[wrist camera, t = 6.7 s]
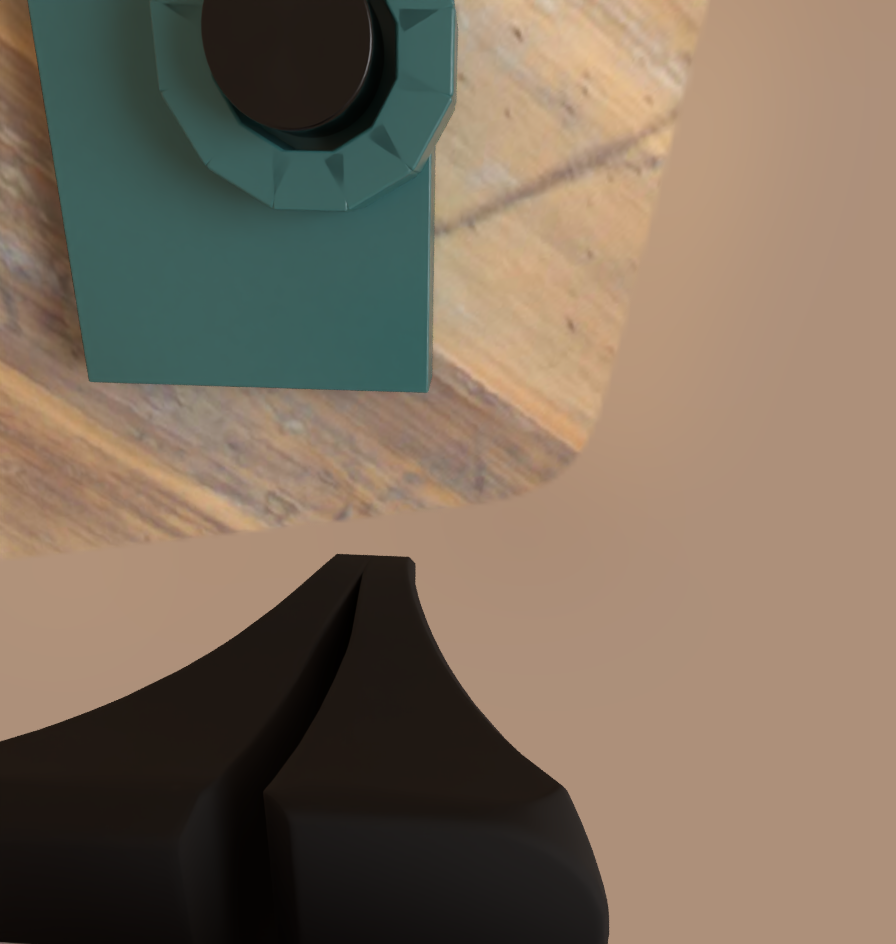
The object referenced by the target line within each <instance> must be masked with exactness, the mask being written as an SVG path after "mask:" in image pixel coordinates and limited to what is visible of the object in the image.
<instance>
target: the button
mask: <svg viewBox="0 0 896 944" xmlns="http://www.w3.org/2000/svg"><path fill="white" fill-rule="evenodd" d="M201 36H202V43H203V49H204V52H205V56H206V60H207V63H208V65H209V68H210V71H211V73H212V75H213V77H214V79H215V81H216V83H217V85H218V86H219V88H220V89H221V91H222V92H223V94H224V95H225V96H226V97H227V98H228V100H229V101H230V102H231V103H232V104H233V105H234V106H235V107H236V108H237V109H238V110H239V111H240V112H242V113H243V114H244V115H246V116H247V117H248V118H250V119H251V120H253V121H255V122H257V123H259V124H261V125H263V126H266V127H268V128H271V129H274V130H277V131H280V132H283V133H287V134H290V135H293V136H298V137H304V138H320V137H325V136H330V135H333V134H335V133H338V132H340V131H342V130H344V129H346V128H348V127H349V126H350V125H352V124H353V123H354V122H356V121H357V120H358V119H359V118H360V117H361V116H362V115H363V114H364V112H365V111H366V110H367V108H368V107H369V106H370V104H371V102H372V101H373V99H374V97H375V95H376V92H377V90H378V88H379V85H380V81H381V78H382V73H383V67H384V41H383V36H382V30H381V27H380V24H379V20H378V17H377V15H376V13H375V11H374V8H373V6H372V5H371V3H370V1H369V0H204V1H203V6H202V15H201Z"/></svg>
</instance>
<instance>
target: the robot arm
mask: <svg viewBox="0 0 896 944" xmlns="http://www.w3.org/2000/svg"><path fill="white" fill-rule="evenodd" d="M608 937H609V912H608V904H607V898H606V894H605V890H604V885H603V882H602V879H601V875H600V872H599V869H598V866H597V863H596V860H595V856H594V854H593V850H592V848H591V845H590V843H589V840H588V837H587V835H586V832H585V830H584V827H583V825H582V822H581V820H580V818H579V816H578V813H577V811H576V809H575V807H574V804H573V802H572V800H571V798H570V796H569V794H568V792H567V790H566V789H565V788H564V787H563V786H562V785H561V784H559V783H558V782H557V781H556V780H554V779H553V778H551V777H550V776H549V775H548V774H546V773H545V772H544V771H543V770H541V769H540V768H539V767H537V766H536V765H535V764H533V763H532V762H531V761H530V760H528V759H527V758H525V757H524V756H523V755H522V754H521V753H520V752H518V751H517V750H516V749H515V748H514V747H513V746H512V745H511V744H510V743H509V742H508V741H507V740H506V739H505V738H504V737H503V736H502V735H501V734H500V733H499V731H498V730H497V729H496V728H495V727H494V726H493V725H492V723H491V722H490V721H489V720H488V719H487V718H486V717H485V715H484V714H483V713H482V712H481V711H480V710H479V709H478V707H477V706H476V705H475V704H474V702H473V701H472V700H471V698H470V697H469V696H468V694H467V693H466V691H465V690H464V689H463V687H462V686H461V684H460V683H459V681H458V680H457V678H456V677H455V675H454V674H453V672H452V670H451V669H450V667H449V665H448V664H447V662H446V660H445V659H444V657H443V655H442V653H441V651H440V649H439V647H438V645H437V643H436V641H435V639H434V637H433V635H432V632H431V630H430V628H429V625H428V623H427V620H426V618H425V615H424V612H423V610H422V607H421V604H420V601H419V598H418V593H417V589H416V585H415V563H414V562H413V561H412V560H411V558H409V557H397V556H374V555H349V554H336V555H335V556H334V557H333V558H332V559H330V560H329V561H328V562H327V563H326V564H325V565H323V566H322V567H321V568H320V569H319V570H318V571H317V572H315V573H314V574H313V575H312V576H311V577H310V578H309V579H308V580H306V581H305V582H304V583H303V584H302V585H301V586H300V587H298V588H297V589H296V590H295V591H294V592H293V593H291V594H290V595H289V596H288V597H287V598H285V599H284V600H283V601H282V602H281V603H279V604H278V605H277V606H276V607H274V608H273V609H272V610H270V611H269V612H268V613H266V614H265V615H264V616H262V617H261V618H260V619H259V620H257V621H256V622H254V623H253V624H251V625H250V626H249V627H247V628H246V629H245V630H244V631H242V632H241V633H239V634H238V635H237V636H235V637H234V638H232V639H231V640H229V641H228V642H226V643H225V644H223V645H221V646H220V647H218V648H217V649H215V650H214V651H212V652H210V653H209V654H207V655H205V656H203V657H202V658H200V659H198V660H196V661H195V662H193V663H191V664H190V665H188V666H186V667H184V668H182V669H181V670H179V671H177V672H175V673H173V674H171V675H169V676H167V677H164V678H163V679H160V680H158V681H156V682H154V683H152V684H150V685H148V686H146V687H144V688H142V689H140V690H138V691H136V692H134V693H132V694H130V695H128V696H125V697H123V698H121V699H118V700H116V701H114V702H111V703H109V704H107V705H104V706H102V707H99V708H97V709H94V710H92V711H89V712H87V713H84V714H81V715H79V716H76V717H73V718H71V719H68V720H65V721H63V722H60V723H57V724H54V725H51V726H48V727H45V728H43V729H40V730H37V731H33V732H30V733H27V734H24V735H20V736H17V737H14V738H10V739H7V740H4V741H1V742H0V944H608Z"/></svg>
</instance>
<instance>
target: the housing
mask: <svg viewBox="0 0 896 944" xmlns="http://www.w3.org/2000/svg"><path fill="white" fill-rule="evenodd" d="M27 1H28V7H29V13H30V19H31V25H32V31H33V38H34V44H35V50H36V56H37V62H38V69H39V75H40V81H41V87H42V93H43V100H44V106H45V112H46V118H47V124H48V131H49V137H50V143H51V149H52V155H53V162H54V168H55V174H56V180H57V186H58V192H59V199H60V205H61V211H62V217H63V223H64V230H65V236H66V242H67V248H68V254H69V261H70V267H71V273H72V279H73V285H74V292H75V298H76V304H77V310H78V316H79V322H80V329H81V335H82V341H83V347H84V353H85V360H86V366H87V372H88V378H89V381H90V382H105V383H137V384H168V385H199V386H230V387H261V388H292V389H324V390H355V391H386V392H417V393H427V392H428V391H429V387H430V383H431V379H432V349H433V282H434V215H435V147H436V143H437V142H438V140H439V138H440V136H441V134H442V132H443V131H444V129H445V127H446V125H447V123H448V122H449V120H450V118H451V116H452V114H453V112H454V111H455V104H456V92H457V50H458V24H457V16H456V10H455V4H454V0H369V1H370V3H371V5H372V6H373V8H374V11H375V13H376V15H377V17H378V20H379V24H380V27H381V30H382V36H383V41H384V67H383V73H382V78H381V81H380V85H379V88H378V90H377V92H376V95H375V97H374V99H373V101H372V102H371V104H370V106H369V107H368V108H367V110H366V111H365V112H364V114H363V115H362V116H361V117H360V118H359V119H358V120H357V121H356V122H354V123H353V124H352V125H350V126H349V127H348V128H346V129H344V130H342V131H340V132H338V133H335V134H333V135H330V136H325V137H320V138H304V137H298V136H293V135H290V134H287V133H283V132H280V131H277V130H274V129H271V128H268V127H266V126H263V125H261V124H259V123H257V122H255V121H253V120H251V119H250V118H248V117H247V116H246V115H244V114H243V113H242V112H240V111H239V110H238V109H237V108H236V107H235V106H234V105H233V104H232V103H231V102H230V101H229V100H228V98H227V97H226V96H225V95H224V94H223V92H222V91H221V89H220V88H219V86H218V85H217V83H216V81H215V79H214V77H213V75H212V73H211V71H210V68H209V65H208V63H207V60H206V56H205V52H204V49H203V43H202V36H201V15H202V6H203V1H204V0H27Z"/></svg>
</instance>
